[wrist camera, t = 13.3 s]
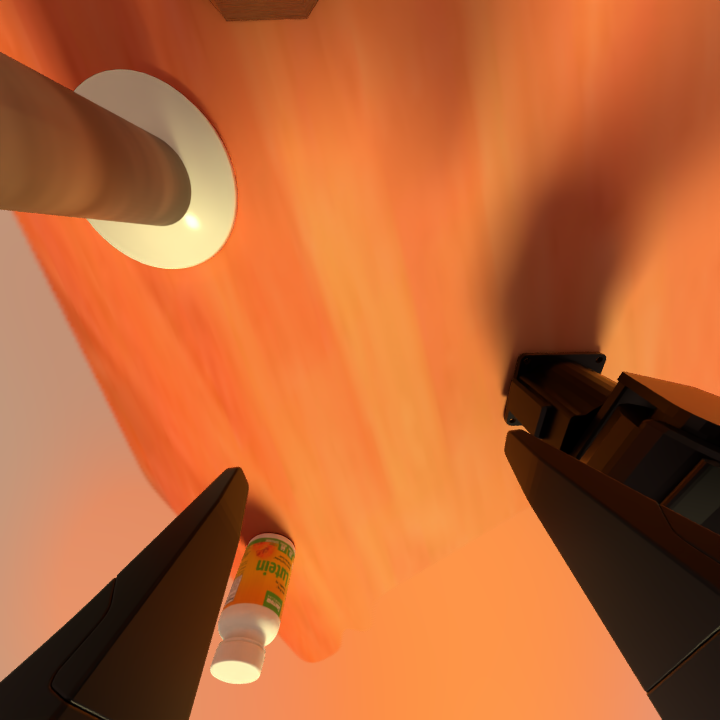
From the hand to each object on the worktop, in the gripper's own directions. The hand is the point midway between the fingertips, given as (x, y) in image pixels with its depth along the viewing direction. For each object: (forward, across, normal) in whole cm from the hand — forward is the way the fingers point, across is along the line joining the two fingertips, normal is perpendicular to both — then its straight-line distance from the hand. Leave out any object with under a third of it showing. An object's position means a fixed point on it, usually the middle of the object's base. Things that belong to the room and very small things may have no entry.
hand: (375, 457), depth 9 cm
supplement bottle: (+12, +13, +24) cm, 30 cm away
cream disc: (+14, +11, -11) cm, 21 cm away
